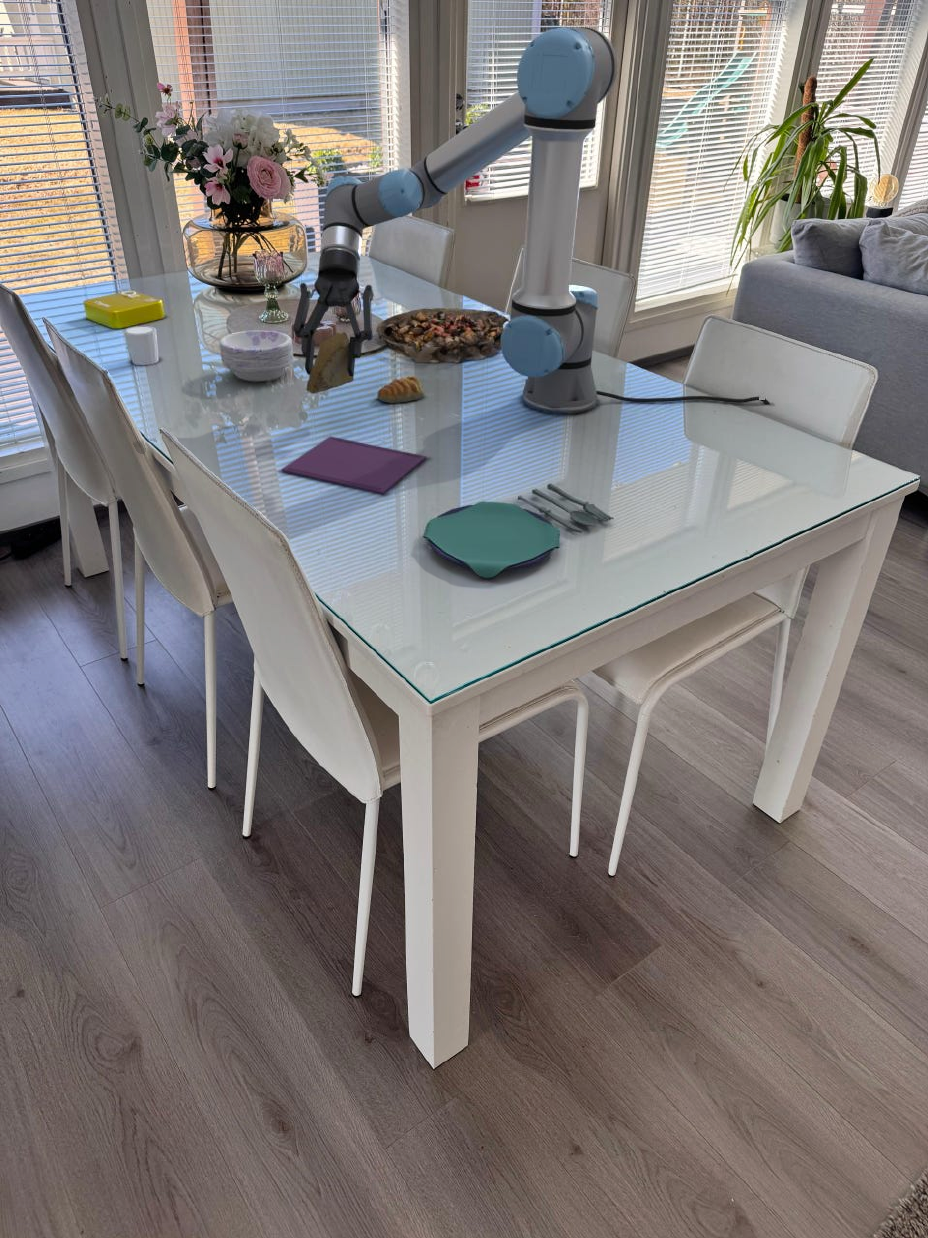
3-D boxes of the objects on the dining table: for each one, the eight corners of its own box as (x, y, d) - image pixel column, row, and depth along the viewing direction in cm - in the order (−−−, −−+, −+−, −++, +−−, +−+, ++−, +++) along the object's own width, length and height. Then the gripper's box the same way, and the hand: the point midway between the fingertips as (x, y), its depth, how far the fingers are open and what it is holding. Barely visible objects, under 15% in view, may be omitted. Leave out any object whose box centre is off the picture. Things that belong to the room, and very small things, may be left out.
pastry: (389, 407, 180) (388, 389, 178) (370, 398, 184) (369, 380, 182) (426, 397, 185) (426, 379, 183) (407, 388, 189) (406, 371, 187)
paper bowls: (289, 361, 202) (285, 325, 198) (299, 383, 190) (296, 346, 186) (220, 366, 198) (215, 330, 194) (227, 390, 186) (222, 352, 182)
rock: (309, 388, 160) (361, 373, 162) (293, 343, 160) (345, 328, 162) (308, 406, 171) (357, 391, 173) (293, 364, 171) (343, 350, 173)
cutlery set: (400, 538, 136) (399, 524, 135) (544, 486, 151) (545, 474, 150) (482, 594, 123) (483, 580, 122) (631, 532, 139) (632, 518, 137)
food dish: (467, 377, 198) (467, 343, 193) (349, 353, 212) (346, 320, 208) (540, 333, 222) (542, 301, 217) (430, 314, 236) (429, 283, 232)
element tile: (83, 317, 227) (79, 298, 224) (135, 306, 236) (131, 287, 234) (115, 330, 219) (111, 310, 216) (168, 317, 228) (165, 298, 226)
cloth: (426, 458, 160) (426, 456, 160) (383, 494, 148) (383, 491, 148) (330, 438, 166) (330, 436, 166) (282, 471, 154) (281, 468, 154)
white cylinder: (123, 363, 199) (116, 331, 195) (143, 354, 204) (137, 323, 200) (148, 367, 197) (142, 335, 193) (167, 358, 202) (162, 327, 198)
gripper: (395, 271, 171) (386, 383, 166) (292, 268, 172) (280, 379, 168) (390, 248, 163) (380, 364, 159) (282, 245, 164) (270, 360, 160)
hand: (329, 371), depth 163 cm, fingers closed on rock, 7 cm apart
